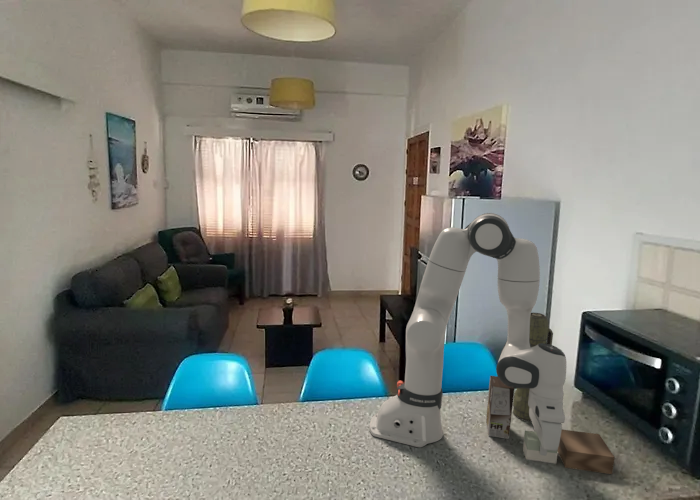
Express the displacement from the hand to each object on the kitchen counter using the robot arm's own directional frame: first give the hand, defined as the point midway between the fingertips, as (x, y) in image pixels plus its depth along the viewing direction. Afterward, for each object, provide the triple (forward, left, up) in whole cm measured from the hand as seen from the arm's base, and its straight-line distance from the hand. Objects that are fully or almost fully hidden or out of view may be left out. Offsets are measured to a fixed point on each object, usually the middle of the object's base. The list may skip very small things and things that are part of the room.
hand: (540, 447), depth 133 cm
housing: (0, 0, -3) cm, 3 cm away
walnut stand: (+12, +2, -3) cm, 12 cm away
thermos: (+1, +25, -3) cm, 25 cm away
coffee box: (-10, +12, -3) cm, 16 cm away
